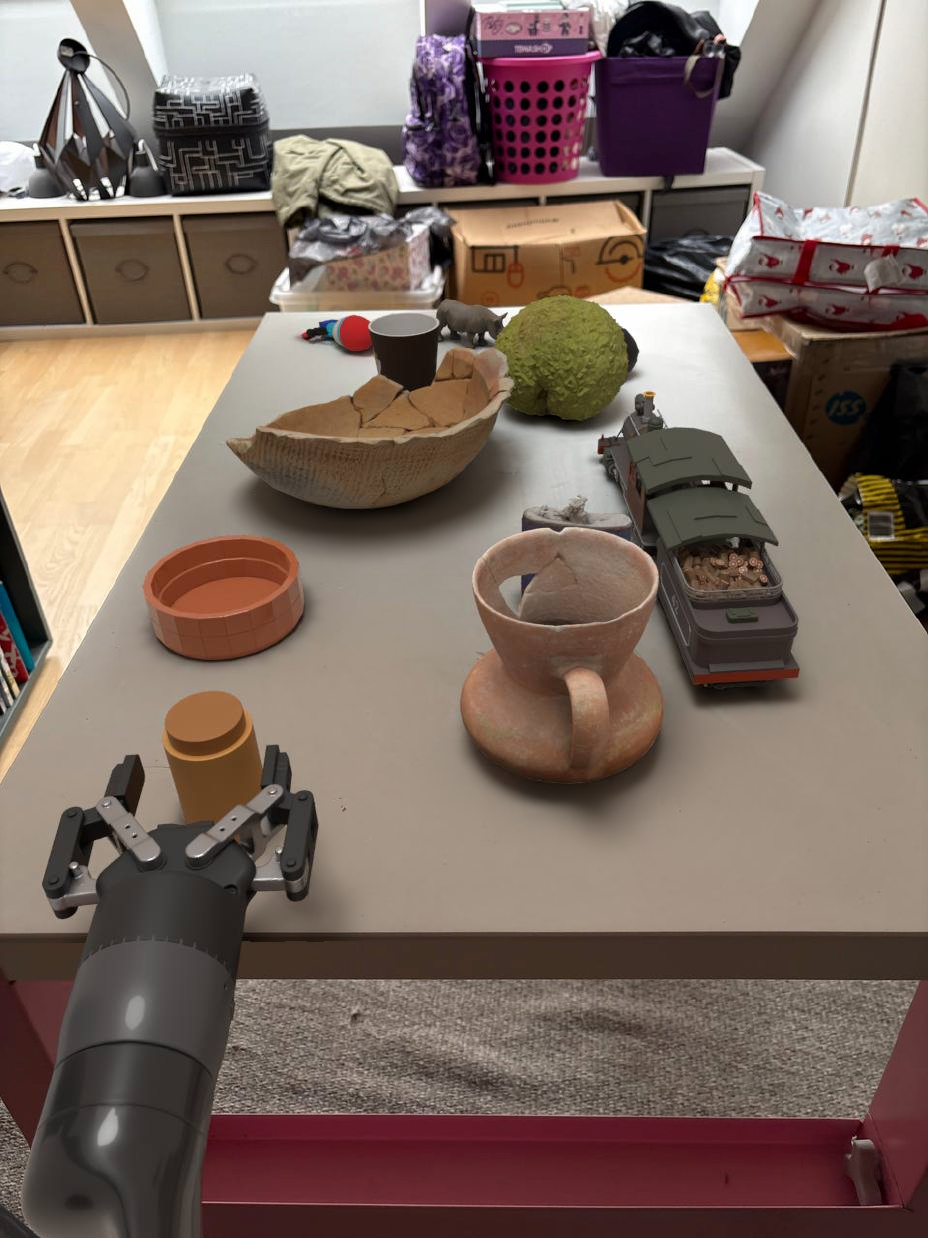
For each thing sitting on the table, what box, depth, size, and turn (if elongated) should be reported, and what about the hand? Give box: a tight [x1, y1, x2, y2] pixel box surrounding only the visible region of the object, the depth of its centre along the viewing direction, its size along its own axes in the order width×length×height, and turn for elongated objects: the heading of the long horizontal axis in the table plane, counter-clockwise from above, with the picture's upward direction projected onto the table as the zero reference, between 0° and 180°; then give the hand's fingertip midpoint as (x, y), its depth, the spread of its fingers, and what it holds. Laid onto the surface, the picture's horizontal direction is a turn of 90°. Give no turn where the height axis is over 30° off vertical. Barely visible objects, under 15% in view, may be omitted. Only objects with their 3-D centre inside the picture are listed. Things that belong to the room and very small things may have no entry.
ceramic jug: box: [459, 527, 665, 785], centre depth 66 cm, size 18×14×14 cm
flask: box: [520, 494, 634, 598], centre depth 81 cm, size 9×3×11 cm, turn 78°
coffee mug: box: [368, 312, 439, 392], centre depth 120 cm, size 12×9×10 cm
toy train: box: [597, 390, 801, 690], centre depth 88 cm, size 45×9×11 cm, turn 3°
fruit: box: [494, 294, 629, 422], centre depth 114 cm, size 16×14×15 cm
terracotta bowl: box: [142, 534, 305, 661], centre depth 83 cm, size 13×13×4 cm
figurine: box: [621, 327, 640, 375], centre depth 130 cm, size 8×7×18 cm
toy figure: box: [300, 314, 372, 352], centre depth 139 cm, size 8×5×15 cm
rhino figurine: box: [435, 298, 509, 350], centre depth 136 cm, size 4×14×6 cm, turn 54°
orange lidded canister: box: [161, 690, 263, 844], centre depth 63 cm, size 6×6×9 cm
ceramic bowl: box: [225, 346, 515, 510], centre depth 100 cm, size 30×27×15 cm
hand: (205, 759), depth 59 cm, fingers open, 8 cm apart
